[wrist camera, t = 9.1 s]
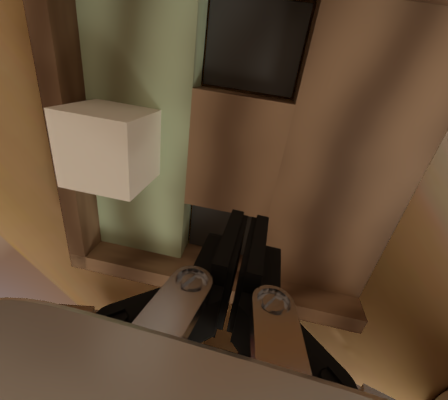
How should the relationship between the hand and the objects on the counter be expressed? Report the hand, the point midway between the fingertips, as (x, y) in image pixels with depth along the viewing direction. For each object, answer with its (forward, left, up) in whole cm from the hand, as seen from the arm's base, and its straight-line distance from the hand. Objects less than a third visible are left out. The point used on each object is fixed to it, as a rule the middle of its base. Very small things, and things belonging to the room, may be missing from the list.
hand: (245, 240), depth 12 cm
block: (+10, -1, -9) cm, 13 cm away
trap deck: (+2, -1, -11) cm, 11 cm away
